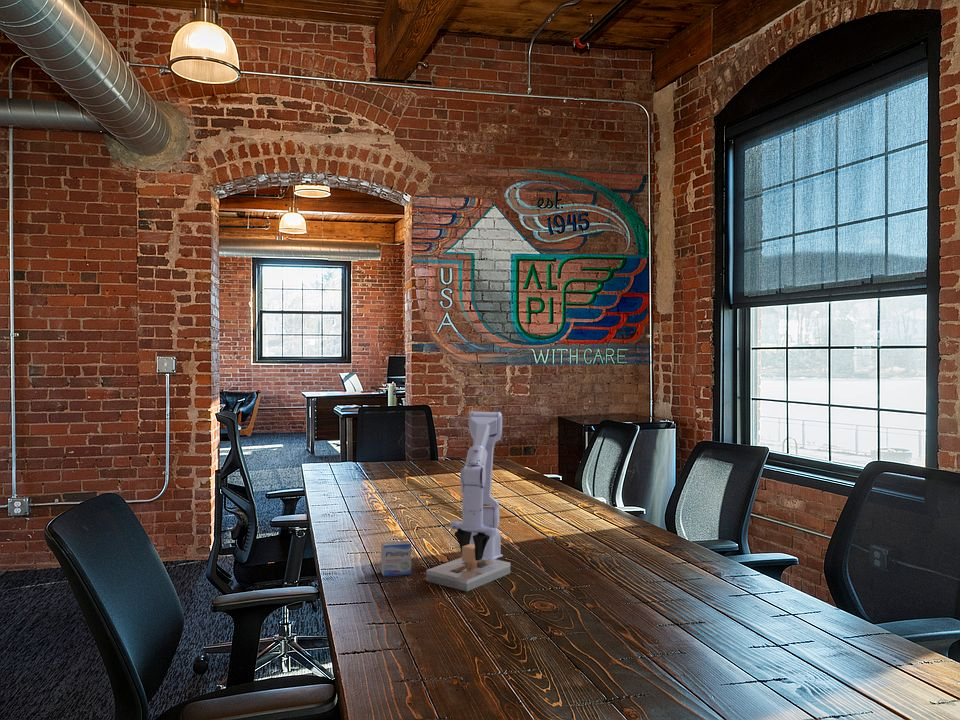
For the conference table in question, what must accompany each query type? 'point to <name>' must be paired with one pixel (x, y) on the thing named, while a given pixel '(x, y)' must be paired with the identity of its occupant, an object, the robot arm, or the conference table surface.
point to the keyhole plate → (467, 573)
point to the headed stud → (469, 556)
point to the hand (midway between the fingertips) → (472, 558)
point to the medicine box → (396, 558)
